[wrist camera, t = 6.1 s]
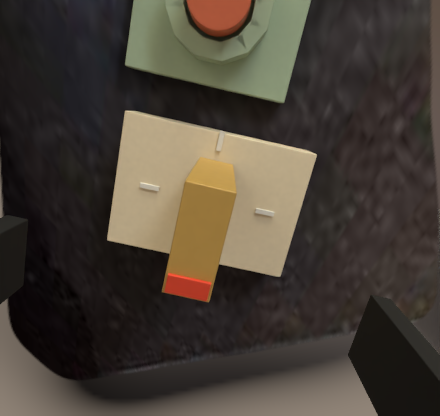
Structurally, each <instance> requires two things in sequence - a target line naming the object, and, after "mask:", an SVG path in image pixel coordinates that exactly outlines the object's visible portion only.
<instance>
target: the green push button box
mask: <svg viewBox="0 0 440 416" xmlns="http://www.w3.org/2000/svg"><path fill="white" fill-rule="evenodd" d="M310 2H311V0H251V5H250V9H249V13H248V16H247V19H246V20H245V22H244V24H243V25H242V26H241V27H240V28H239V29H238V30H237V31H236V32H234V33H233V34H230V35H228V36H224V37H215V36H211V35H208V34H206V33H204V32H203V31H202V30H200V29H199V28H198V26H197V25H196V24H195V22H194V21H193V19H192V17H191V14H190V11H189V8H188V5H187V0H134V1H133V8H132V16H131V23H130V31H129V38H128V45H127V53H126V60H125V66H127V67H129V68H132V69H136V70H141V71H145V72H149V73H153V74H158V75H162V76H166V77H170V78H175V79H179V80H183V81H187V82H192V83H196V84H200V85H204V86H208V87H213V88H217V89H221V90H225V91H230V92H234V93H238V94H242V95H247V96H251V97H255V98H259V99H264V100H268V101H272V102H276V103H284V101H285V97H286V93H287V89H288V86H289V82H290V78H291V74H292V70H293V67H294V63H295V59H296V55H297V51H298V48H299V44H300V40H301V36H302V33H303V29H304V25H305V21H306V17H307V14H308V10H309V6H310Z"/></svg>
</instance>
